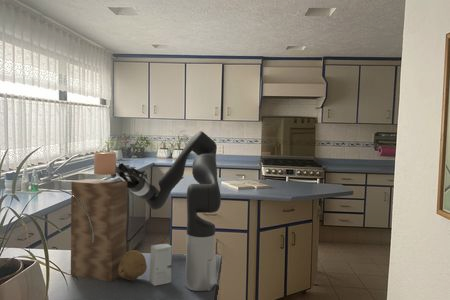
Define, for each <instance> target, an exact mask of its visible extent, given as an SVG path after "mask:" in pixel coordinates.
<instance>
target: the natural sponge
mask: <svg viewBox="0 0 450 300" xmlns="http://www.w3.org/2000/svg"><path fill="white" fill-rule="evenodd" d="M147 268H148V265H147V261H146V258H145V255H144V254H143V253H142V252H141V251H139V250H135V249H133V250H128V251H126V253H125V254H124V255H123V257H122V258H121V261H120V264H119V267H118V274H119V277H121V278H123V279H126V280H127V281H135V280H137V279H138V278H139V277H141V276H143V275H144V274H145V273H146V272H147V270H148V269H147Z"/></svg>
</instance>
